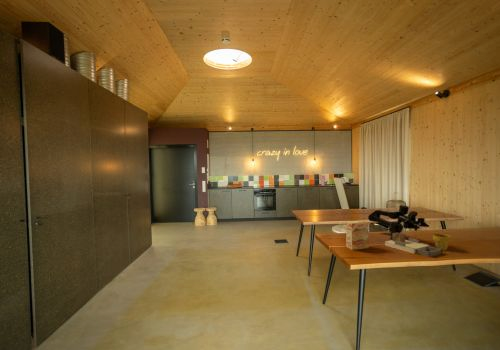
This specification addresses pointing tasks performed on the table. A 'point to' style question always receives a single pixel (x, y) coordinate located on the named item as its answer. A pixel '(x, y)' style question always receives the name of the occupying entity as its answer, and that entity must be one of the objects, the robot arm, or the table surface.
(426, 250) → the tunnel deck
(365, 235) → the coffeecake box
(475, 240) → the table surface
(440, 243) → the plant pot
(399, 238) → the walnut block
